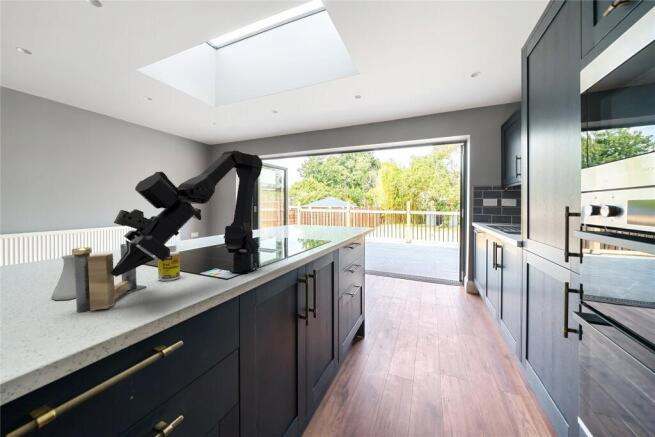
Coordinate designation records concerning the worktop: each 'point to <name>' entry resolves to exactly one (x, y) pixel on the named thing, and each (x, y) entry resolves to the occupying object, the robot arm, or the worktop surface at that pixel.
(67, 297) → the flask
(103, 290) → the tan flat l-shaped piece
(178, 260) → the supplement bottle
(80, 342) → the worktop surface
